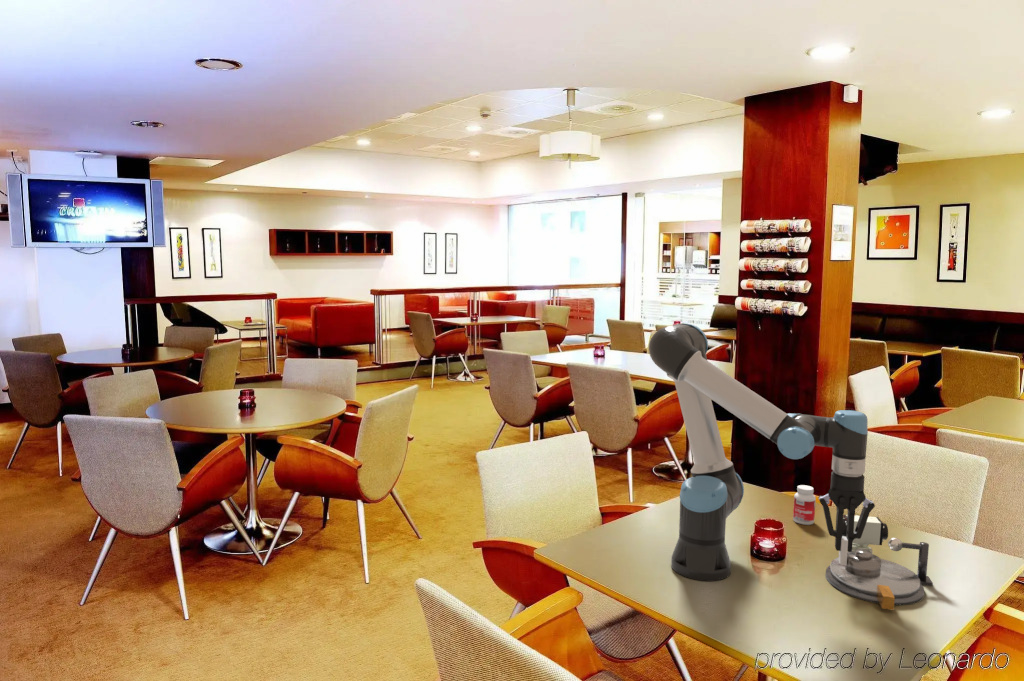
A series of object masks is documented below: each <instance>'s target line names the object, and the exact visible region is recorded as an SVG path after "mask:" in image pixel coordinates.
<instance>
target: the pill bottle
mask: <svg viewBox="0 0 1024 681" xmlns="http://www.w3.org/2000/svg"><path fill="white" fill-rule="evenodd" d="M796 487H797V488H796V490H797V492H796V493H794V496H793V498H794V499H793V510H792V511H793V513H792V520H793V522H795V523H797V524H800V525H806V526H810V525H811V526H812V525H813V524H814V523H815V514H816V502H817V500H816V495H815V494H814V492H815V490H814V487H813V486H810V485H805V484H800V485H797V486H796Z"/></svg>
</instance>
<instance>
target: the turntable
mask: <svg viewBox="0 0 1024 681" xmlns="http://www.w3.org/2000/svg"><path fill="white" fill-rule="evenodd" d="M880 559H881V572H880V576H879V577H876V578H865V577H860V576H856V575H853V574H851V573H849V572H848V571H846V569H845V565H840V563H839V556H837V557H836V558H834V559H832V560H831V562H830V564H829V566H830V573H831V575H832V577H833V578H834V579H835V580H836V581H838V582H839V583H841V584H842V585H844V586H846V587H848V588H851V589H853V590H856V591H858V592H862V593H865V594H869V595H874V596H877V598H878V601H879V603H880V604H879V603H878V604H879V605H880V607H881V609H883V610H890V611H894V610H895V605H894V601H895V598H905V597H910V596H913V595H915V594H917V593H918V592H919V590H920V579H919V577H918V576H917V574H916V573H915V572H914V571H913V570H911V569H909V568H907V567H906V566H903V565H901V564H899V563H896V562H894V561H890V560H886V559H884V558H880Z"/></svg>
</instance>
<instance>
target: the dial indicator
mask: <svg viewBox="0 0 1024 681" xmlns="http://www.w3.org/2000/svg"><path fill="white" fill-rule="evenodd" d="M887 545H888V547H889V548H890V550H891V551H893V552H899V551H901V550H903V549H908V550H909V549H910V550H918V562H917V574H916V575H917V576H918V577H919V579H920V583H921V584H922V586H930V587H933V585H934V583H933V580H932V579H931V578H930V576H928V575H927V574H928V573H927V572H928V571H927V570H928V561H929V548H930V543H927V542H924V541H920V542H919V543H910V542H902V540H901V539H900V538H898V537H891V538H890V539H889V538H888V541H887Z"/></svg>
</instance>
